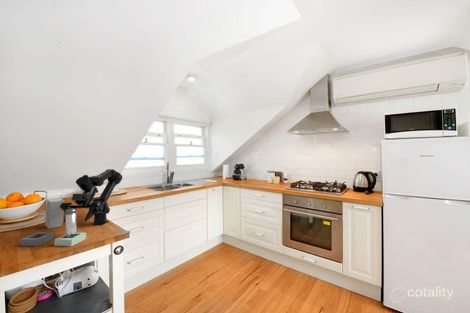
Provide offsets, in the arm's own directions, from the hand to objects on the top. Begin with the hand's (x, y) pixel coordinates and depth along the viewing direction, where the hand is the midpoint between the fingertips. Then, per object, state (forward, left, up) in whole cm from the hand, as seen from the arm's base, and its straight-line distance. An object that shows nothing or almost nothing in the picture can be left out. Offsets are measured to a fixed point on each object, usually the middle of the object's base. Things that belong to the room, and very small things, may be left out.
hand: (74, 221), depth 98 cm
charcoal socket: (+4, -15, -9) cm, 18 cm away
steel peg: (+3, +1, -9) cm, 9 cm away
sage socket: (+3, +1, -9) cm, 9 cm away
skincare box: (-17, -28, -9) cm, 34 cm away
